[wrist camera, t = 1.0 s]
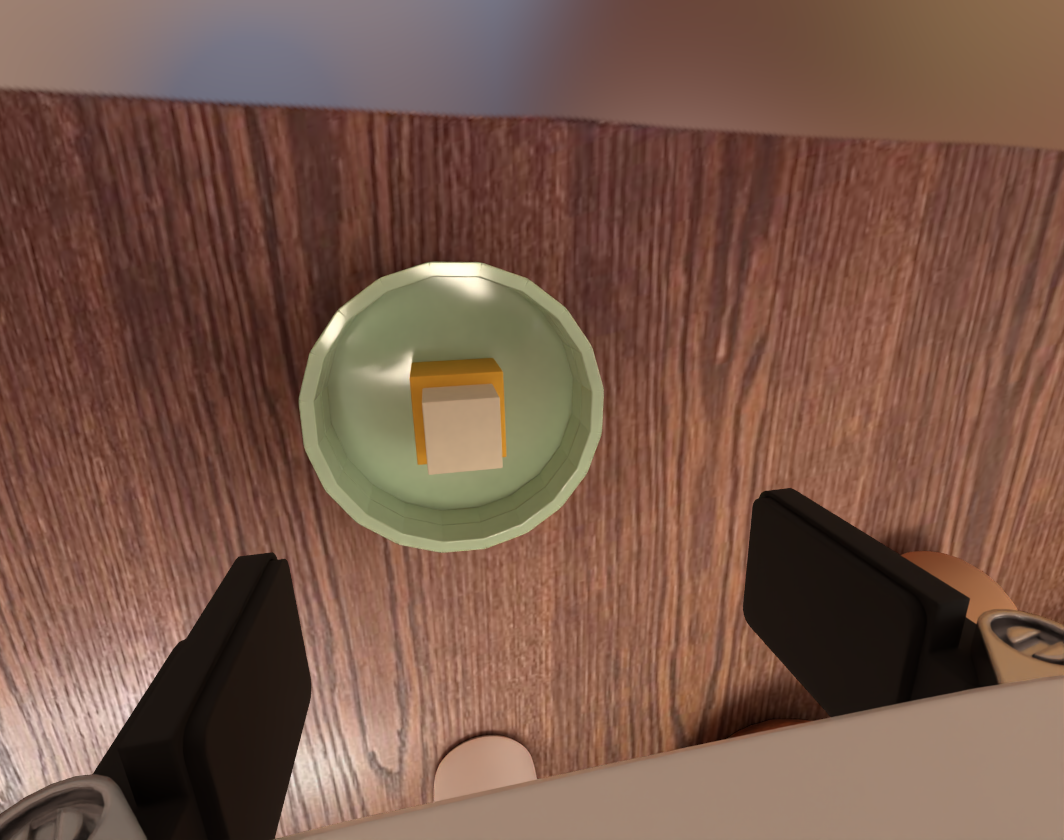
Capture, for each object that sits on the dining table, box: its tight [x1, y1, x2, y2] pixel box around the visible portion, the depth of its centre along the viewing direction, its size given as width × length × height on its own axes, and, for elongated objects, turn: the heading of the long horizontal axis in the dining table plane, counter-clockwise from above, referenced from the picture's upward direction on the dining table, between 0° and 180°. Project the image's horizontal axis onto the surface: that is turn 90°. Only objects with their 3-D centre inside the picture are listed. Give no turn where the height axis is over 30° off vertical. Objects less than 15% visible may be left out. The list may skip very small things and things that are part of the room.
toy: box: [409, 358, 507, 475], centre depth 24 cm, size 4×4×6 cm
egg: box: [901, 551, 1018, 624], centre depth 32 cm, size 6×6×8 cm
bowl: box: [299, 262, 604, 553], centre depth 25 cm, size 13×13×4 cm
